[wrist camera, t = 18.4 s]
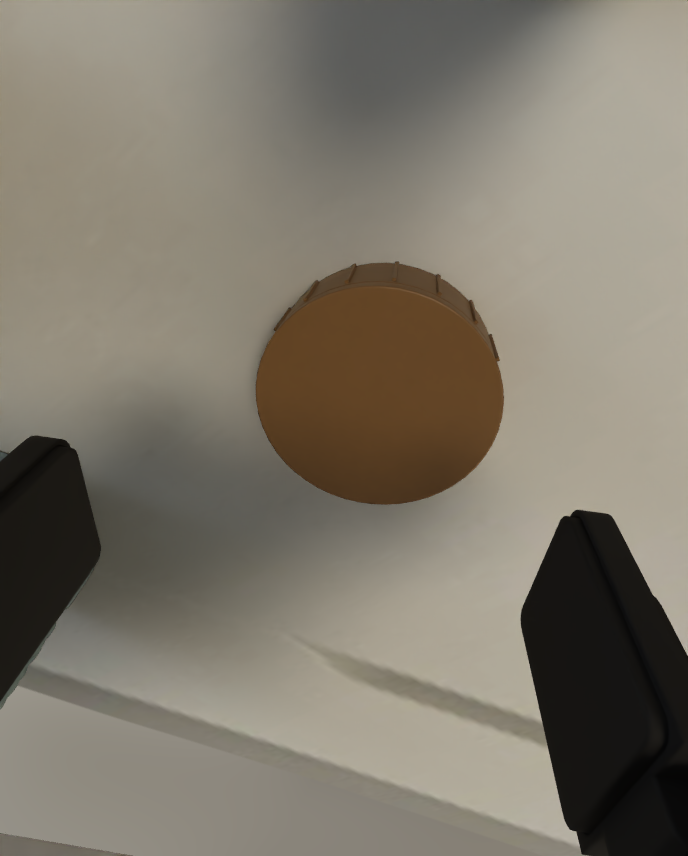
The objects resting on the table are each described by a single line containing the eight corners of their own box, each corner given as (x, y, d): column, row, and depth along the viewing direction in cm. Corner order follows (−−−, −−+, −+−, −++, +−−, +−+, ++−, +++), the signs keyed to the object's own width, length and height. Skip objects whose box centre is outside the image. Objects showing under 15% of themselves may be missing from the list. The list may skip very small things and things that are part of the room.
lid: (479, 232, 14) (489, 252, 12) (505, 448, 17) (516, 493, 15) (244, 289, 16) (216, 315, 14) (311, 474, 19) (297, 518, 17)
